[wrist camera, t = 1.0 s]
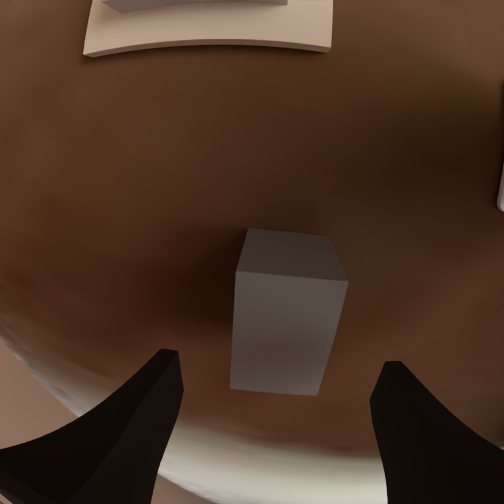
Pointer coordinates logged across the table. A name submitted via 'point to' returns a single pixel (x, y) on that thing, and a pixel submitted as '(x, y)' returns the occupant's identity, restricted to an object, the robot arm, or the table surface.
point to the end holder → (207, 24)
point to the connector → (285, 311)
